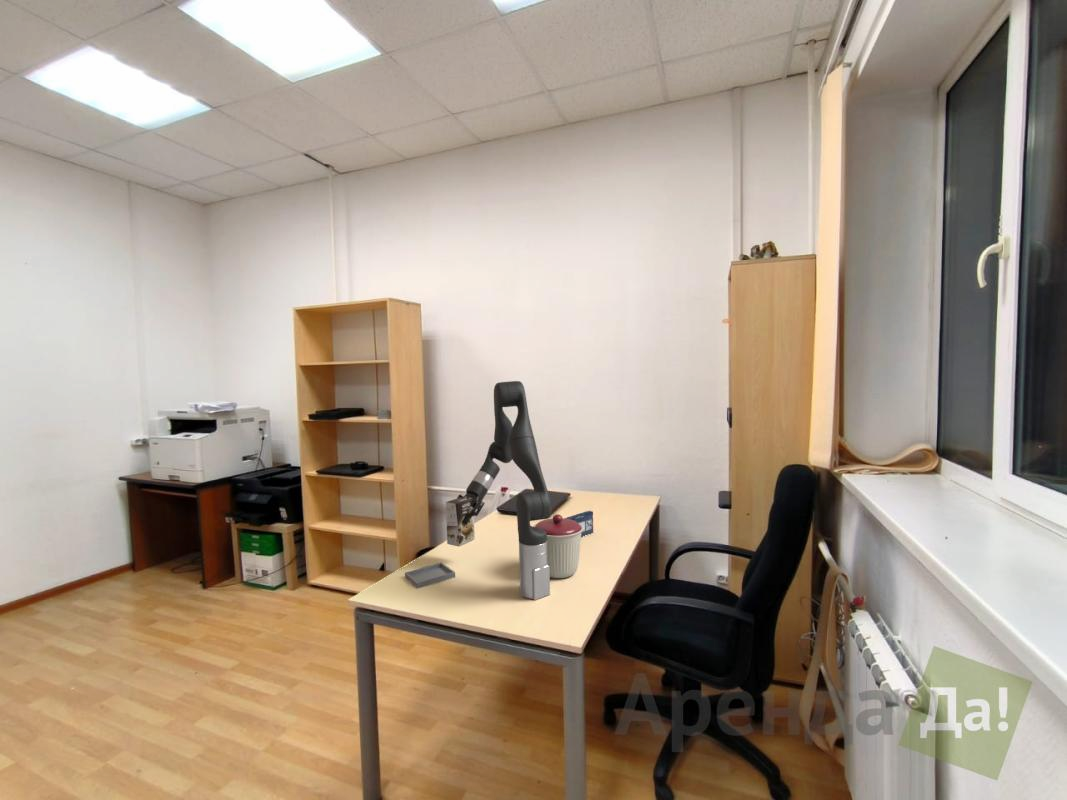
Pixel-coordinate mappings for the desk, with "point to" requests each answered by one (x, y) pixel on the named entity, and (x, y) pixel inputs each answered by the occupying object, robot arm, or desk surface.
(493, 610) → the desk surface
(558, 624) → the desk surface
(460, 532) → the coffee box
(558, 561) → the canister
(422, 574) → the tray
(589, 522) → the vhs cassette tape
